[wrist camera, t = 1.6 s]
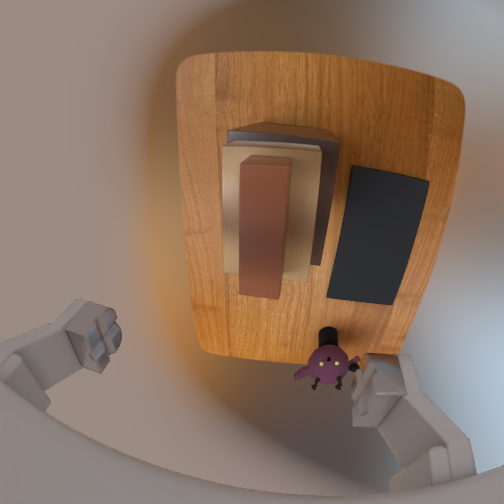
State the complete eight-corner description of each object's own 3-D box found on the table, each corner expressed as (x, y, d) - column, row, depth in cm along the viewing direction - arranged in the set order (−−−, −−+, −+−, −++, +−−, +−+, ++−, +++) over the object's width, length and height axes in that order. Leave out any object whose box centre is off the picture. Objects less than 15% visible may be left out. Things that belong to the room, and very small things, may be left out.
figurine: (360, 331, 45) (368, 386, 35) (329, 356, 49) (329, 410, 39) (325, 308, 44) (327, 365, 34) (295, 337, 48) (289, 392, 38)
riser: (260, 122, 33) (227, 130, 20) (324, 129, 32) (340, 141, 19) (255, 197, 38) (223, 252, 24) (315, 204, 37) (320, 266, 23)
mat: (352, 165, 34) (353, 165, 33) (428, 181, 32) (429, 182, 32) (326, 295, 43) (326, 297, 43) (391, 303, 42) (392, 305, 41)
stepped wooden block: (234, 140, 20) (205, 153, 14) (319, 145, 19) (325, 160, 13) (234, 251, 24) (211, 297, 18) (307, 258, 23) (306, 309, 17)
